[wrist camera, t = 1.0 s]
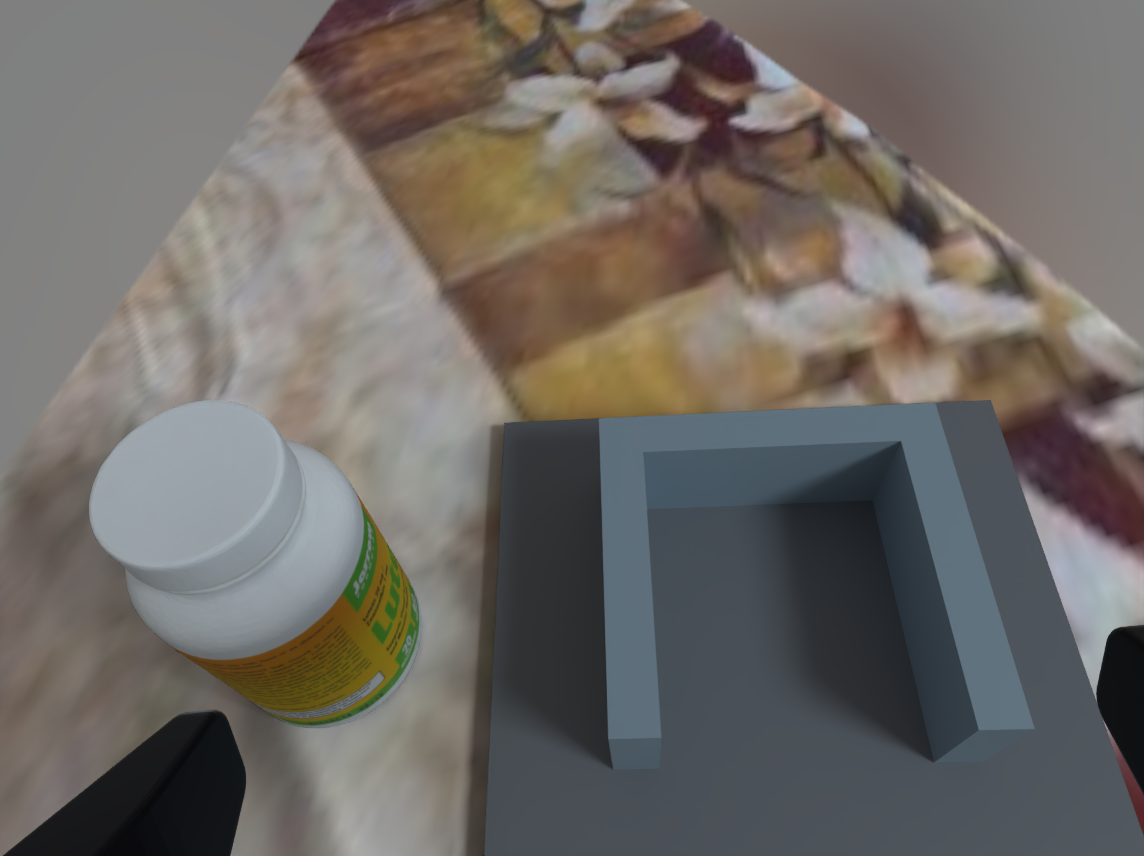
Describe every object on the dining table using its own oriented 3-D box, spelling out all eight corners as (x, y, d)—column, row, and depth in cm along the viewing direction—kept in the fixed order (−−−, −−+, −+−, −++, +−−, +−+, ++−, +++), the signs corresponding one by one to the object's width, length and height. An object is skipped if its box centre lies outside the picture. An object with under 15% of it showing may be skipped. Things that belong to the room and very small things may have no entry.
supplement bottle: (445, 690, 24) (341, 544, 16) (260, 762, 23) (50, 646, 15) (401, 532, 27) (295, 340, 18) (236, 591, 26) (49, 418, 18)
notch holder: (1149, 892, 20) (1252, 876, 16) (486, 900, 21) (455, 886, 17) (984, 410, 27) (1031, 332, 24) (506, 432, 28) (488, 360, 25)
